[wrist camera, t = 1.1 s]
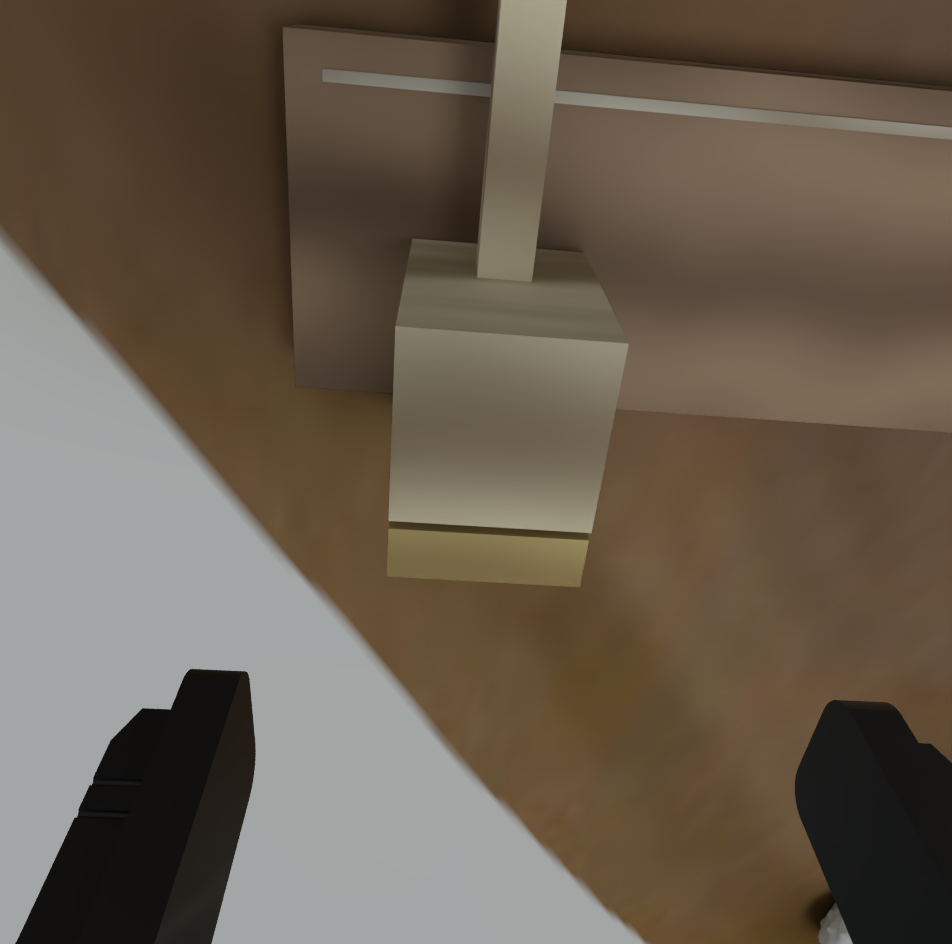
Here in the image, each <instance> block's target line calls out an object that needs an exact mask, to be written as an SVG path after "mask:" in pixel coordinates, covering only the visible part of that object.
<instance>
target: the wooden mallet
mask: <svg viewBox="0 0 952 944" xmlns="http://www.w3.org/2000/svg"><path fill="white" fill-rule="evenodd" d="M566 3H567V0H499V1H498V12H497V24H496V35H495V47H494V59H493V70H492V82H491V93H490V105H489V117H488V128H487V140H486V152H485V163H484V175H483V186H482V198H481V210H480V221H479V233H478V244H475V243H462V242H450V241H438V240H425V239H413V238H412V243H411V248H410V253H409V258H408V264H407V269H406V274H405V279H404V284H403V289H402V295H401V300H400V305H399V310H398V315H397V320H396V326H395V352H394V381H393V410H392V439H391V468H390V497H389V521H390V522H389V533H388V562H387V576H389V577H407V578H425V579H443V580H461V581H479V582H497V583H515V584H533V585H551V586H569V587H580V583H581V578H582V573H583V568H584V563H585V558H586V553H587V548H588V543H589V539H588V534H587V533H592V528H593V523H594V518H595V513H596V507H597V502H598V497H599V492H600V487H601V482H602V477H603V472H604V467H605V462H606V457H607V452H608V447H609V442H610V437H611V432H612V427H613V421H614V416H615V411H616V406H617V401H618V396H619V391H620V386H621V381H622V376H623V371H624V366H625V361H626V356H627V351H628V346H629V343H628V341H627V339H626V337H625V335H624V333H623V331H622V328H621V326H620V324H619V322H618V320H617V318H616V316H615V314H614V312H613V310H612V308H611V306H610V304H609V302H608V300H607V298H606V296H605V293H604V291H603V289H602V287H601V285H600V283H599V281H598V279H597V277H596V275H595V273H594V271H593V269H592V267H591V265H590V263H589V260H588V258H587V256H586V254H585V252H573V251H561V250H548V249H536V244H537V236H538V228H539V220H540V212H541V204H542V196H543V188H544V180H545V172H546V164H547V156H548V148H549V140H550V132H551V124H552V116H553V108H554V100H555V92H556V84H557V76H558V68H559V60H560V52H561V44H562V36H563V28H564V20H565V11H566Z"/></svg>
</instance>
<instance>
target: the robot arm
mask: <svg viewBox="0 0 952 944" xmlns="http://www.w3.org/2000/svg"><path fill="white" fill-rule="evenodd" d="M254 768H255V736H254V725H253V714H252V703H251V692H250V681H249V676H248V673H247V672H245V671H222V670H200V669H190V670H189V671H188V672H187V673H186V675H185V676H184V678H183V681H182V683H181V686H180V688H179V690H178V693H177V696H176V698H175V701H174V703H173V705H172V708H171V710H167V709H145V708H143V709H141V711H139V712H138V714H137V715H136V716H134V717H133V718H132V720H130V721H129V723H128V724H127V725H126V726H125V727H124V728H123V729H122V730H121V731H120V732H119V733H118V734H117V735H116V736H115V737H114V738H113V739H112V740H111V741H110V744H109V745H108V748H107V750H106V752H105V754H104V756H103V758H102V761H101V763H100V765H99V767H98V769H97V771H96V773H95V775H94V778H93V779H94V780H93V784H92V786H91V785H90V786H89V788H88V790H87V792H86V795H85V797H84V799H83V801H82V803H81V805H80V807H79V813H78V816H77V818H74V820H73V822H72V825H71V827H70V829H69V831H68V833H67V835H66V837H65V839H64V842H63V844H62V846H61V848H60V850H59V852H58V854H57V857H56V859H55V861H54V863H53V865H52V867H51V869H50V872H49V874H48V876H47V878H46V880H45V882H44V885H43V887H42V889H41V891H40V893H39V895H38V897H37V899H36V902H35V904H34V906H33V908H32V910H31V912H30V914H29V917H28V919H27V921H26V923H25V925H24V927H23V929H22V931H21V933H20V936H19V938H18V940H17V942H16V943H15V944H211V943H212V939H213V935H214V931H215V928H216V924H217V920H218V916H219V912H220V908H221V905H222V901H223V897H224V893H225V889H226V885H227V882H228V878H229V874H230V870H231V866H232V862H233V859H234V855H235V851H236V847H237V843H238V839H239V836H240V832H241V828H242V824H243V820H244V817H245V813H246V809H247V805H248V801H249V797H250V793H251V788H252V783H253V776H254ZM795 797H796V804H797V809H798V812H799V815H800V818H801V821H802V823H803V825H804V828H805V830H806V833H807V835H808V837H809V840H810V842H811V845H812V847H813V849H814V852H815V854H816V857H817V859H818V861H819V864H820V866H821V869H822V871H823V873H824V876H825V878H826V881H827V883H828V885H829V888H830V890H831V893H832V895H833V897H834V900H835V902H836V905H837V907H838V909H839V912H840V914H841V917H842V919H843V921H844V924H845V926H846V929H847V931H848V933H849V936H850V938H851V941H852V943H853V944H952V763H951V762H950V761H949V760H948V759H947V758H946V757H944V756H943V755H942V754H941V753H940V752H939V751H938V750H937V749H936V748H935V747H934V746H933V745H931V744H923V743H918V741H917V740H916V738H915V736H914V735H913V733H912V732H911V730H910V728H909V727H908V725H907V723H906V722H905V720H904V719H903V717H902V715H901V714H900V713H899V711H898V710H897V709H896V708H895V707H894V706H893V705H891V704H889V703H885V702H864V701H842V700H833V701H831V702H829V703H828V704H827V705H826V707H825V709H824V710H823V713H822V715H821V717H820V720H819V722H818V724H817V726H816V729H815V731H814V733H813V735H812V738H811V740H810V742H809V744H808V747H807V749H806V751H805V754H804V756H803V758H802V760H801V763H800V765H799V767H798V770H797V773H796V779H795Z"/></svg>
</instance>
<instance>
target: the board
mask: <svg viewBox="0 0 952 944" xmlns="http://www.w3.org/2000/svg"><path fill="white" fill-rule="evenodd" d="M494 47H495V43H490V42H480V41H469V40H459V39H449V38H438V37H428V36H418V35H407V34H397V33H387V32H376V31H366V30H356V29H345V28H335V27H325V26H314V25H304V24H297V25H291V26H286V27H283V54H284V82H285V109H286V137H287V165H288V193H289V221H290V248H291V276H292V304H293V332H294V360H295V387H306V388H320V389H334V390H349V391H363V392H377V393H392V394H393V381H394V352H395V326H396V320H397V315H398V310H399V305H400V300H401V295H402V289H403V284H404V279H405V274H406V269H407V264H408V258H409V253H410V248H411V243H412V238H413V239H425V240H438V241H450V242H462V243H475V244H478V233H479V221H480V210H481V198H482V186H483V175H484V163H485V152H486V140H487V128H488V117H489V105H490V93H491V82H492V70H493V59H494ZM536 249H548V250H561V251H573V252H585V254H586V256H587V258H588V260H589V263H590V265H591V267H592V269H593V271H594V273H595V275H596V277H597V279H598V281H599V283H600V285H601V287H602V289H603V291H604V293H605V296H606V298H607V300H608V302H609V304H610V306H611V308H612V310H613V312H614V314H615V316H616V318H617V320H618V322H619V324H620V326H621V328H622V331H623V333H624V335H625V337H626V339H627V341H628V343H629V346H628V351H627V356H626V361H625V366H624V371H623V376H622V381H621V386H620V391H619V396H618V401H617V406H616V409H622V410H636V411H651V412H665V413H680V414H694V415H708V416H723V417H737V418H752V419H766V420H780V421H795V422H809V423H823V424H838V425H852V426H867V427H881V428H895V429H910V430H924V431H939V432H952V87H946V86H935V85H925V84H914V83H904V82H894V81H883V80H873V79H863V78H852V77H842V76H832V75H821V74H811V73H801V72H790V71H780V70H770V69H759V68H749V67H739V66H728V65H718V64H707V63H697V62H687V61H676V60H666V59H656V58H645V57H635V56H625V55H614V54H604V53H594V52H583V51H573V50H563V49H561V52H560V60H559V68H558V76H557V84H556V92H555V100H554V108H553V116H552V124H551V132H550V140H549V148H548V156H547V164H546V172H545V180H544V188H543V196H542V204H541V212H540V220H539V228H538V236H537V244H536Z"/></svg>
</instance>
